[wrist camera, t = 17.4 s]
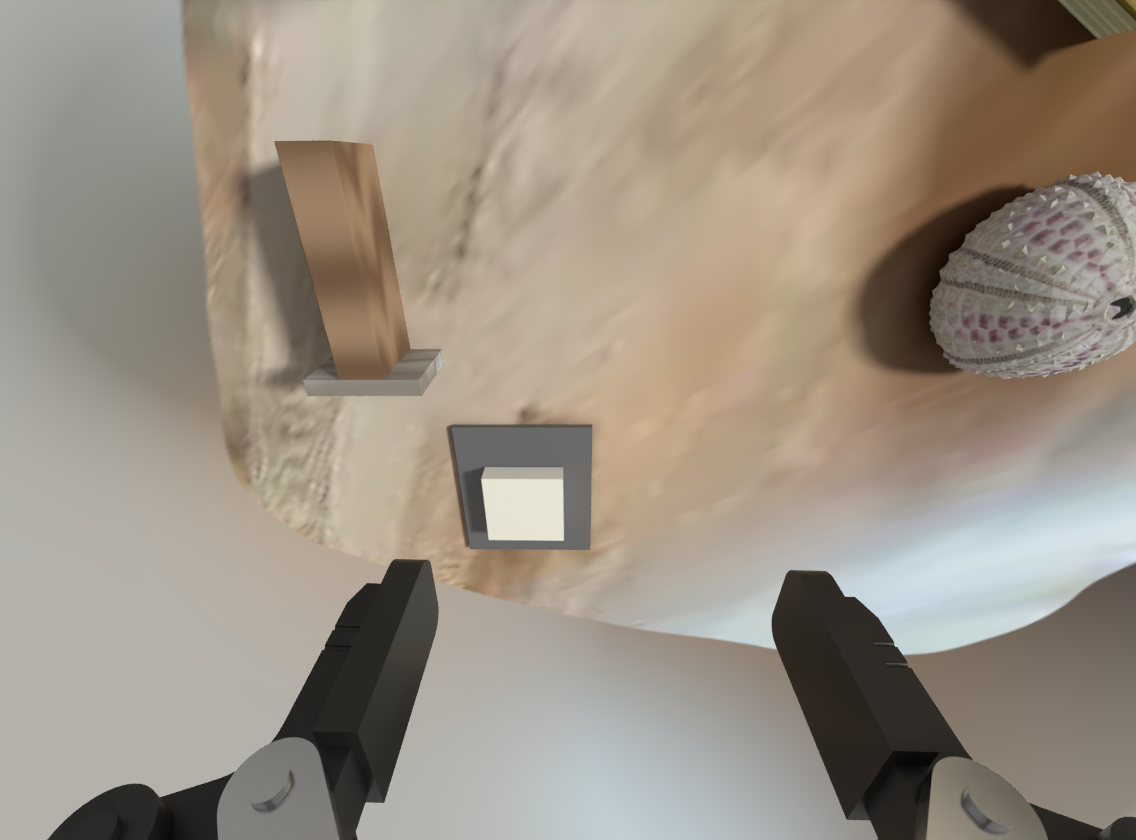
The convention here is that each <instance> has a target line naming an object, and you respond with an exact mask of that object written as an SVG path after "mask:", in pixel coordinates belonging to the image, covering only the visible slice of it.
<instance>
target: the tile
mask: <svg viewBox="0 0 1136 840" xmlns="http://www.w3.org/2000/svg"><path fill="white" fill-rule="evenodd" d="M481 481H482V489H483V497H484V505H485V513H486V522H487V530H488V538H489V540H542V541H564V479H563V467H485V469H484V472H483V475H482V478H481Z"/></svg>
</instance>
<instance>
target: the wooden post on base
mask: <svg viewBox="0 0 1136 840" xmlns="http://www.w3.org/2000/svg"><path fill="white" fill-rule="evenodd" d="M274 142H275V146H276V150H277V153H278V157H279V161H280V164H281V168H282V172H283V175H284V179H285V183H286V186H287V190H288V194H289V197H290V201H291V205H292V208H293V212H294V216H295V219H296V223H297V227H298V230H299V234H300V238H301V242H302V245H303V249H304V253H305V256H306V260H307V264H308V267H309V271H310V275H311V278H312V282H313V286H314V289H315V293H316V297H317V300H318V304H319V308H320V311H321V315H322V319H323V322H324V326H325V330H326V333H327V337H328V341H329V345H330V348H331V352H332V356H333V357H332V358H331V359H329V360H328V361H327V362H326V363H324V364H323V365H322V366H320V367H319V368H318V369H317V370H315V371H314V372H313V373H312V374H310V375H309V376H308V377H306V378H305V379H304V380H303V381H304V385H305V388H306V391H307V394H308V396H422V395H423V393H424V392H425V390H426V389H427V387H428V386H429V384H430V383H431V382H432V380H433V379H434V377H435V376H436V374H437V373H438V371H439V370H440V368H441V367H442V365H443V364H444V362H443V355H442V349H410V344H409V339H408V334H407V328H406V323H405V317H404V312H403V307H402V301H401V296H400V290H399V285H398V279H397V274H396V269H395V263H394V258H393V252H392V247H391V241H390V236H389V231H388V225H387V220H386V214H385V209H384V204H383V198H382V193H381V187H380V182H379V176H378V171H377V166H376V160H375V155H374V149H373V145H371V144H360V143H350V142H339V141H274Z"/></svg>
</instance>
